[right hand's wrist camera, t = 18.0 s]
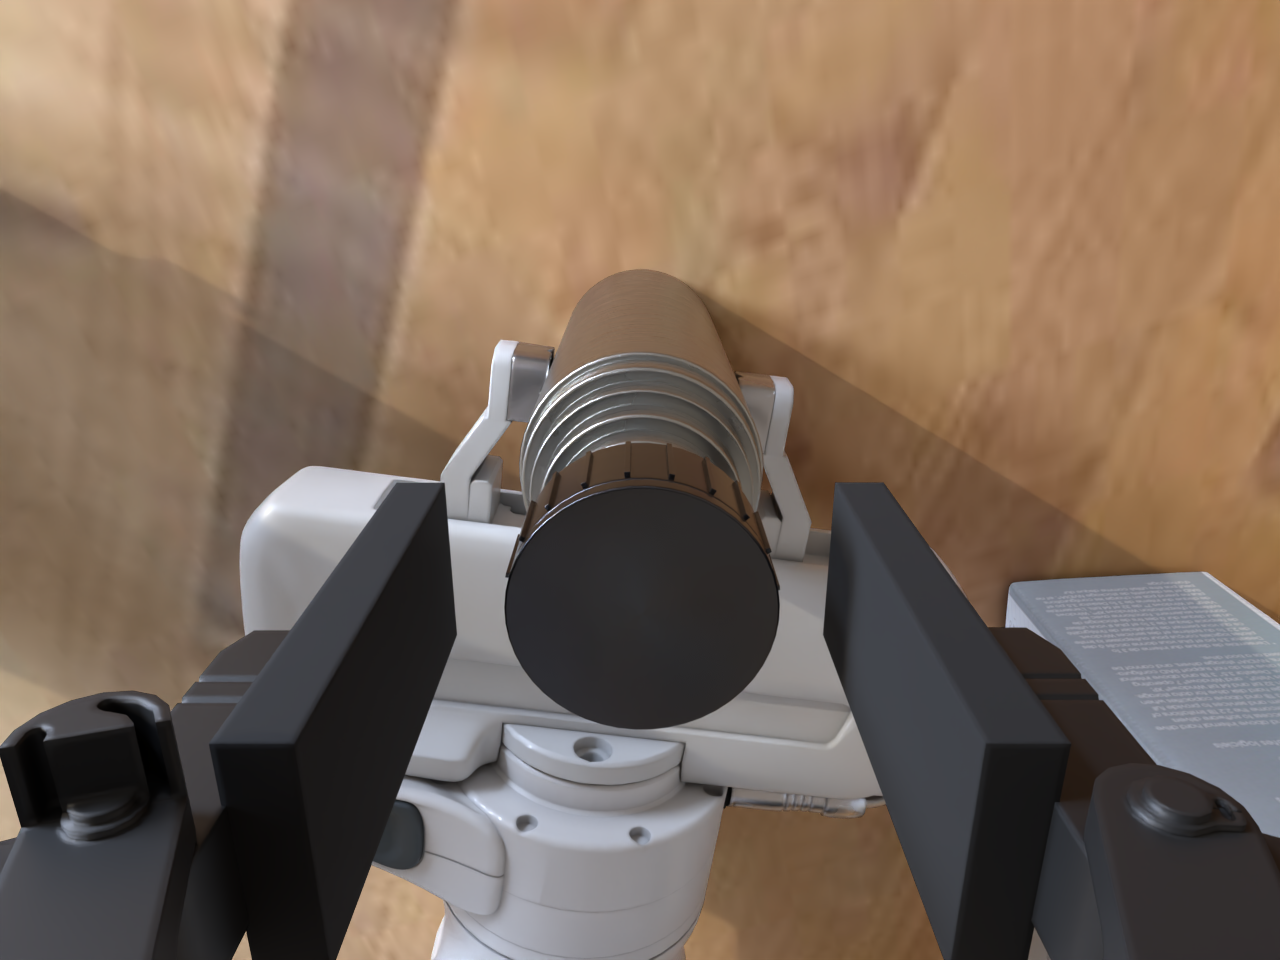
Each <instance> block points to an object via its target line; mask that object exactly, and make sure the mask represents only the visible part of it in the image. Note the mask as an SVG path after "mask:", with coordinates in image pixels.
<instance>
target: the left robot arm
mask: <svg viewBox="0 0 1280 960" xmlns="http://www.w3.org/2000/svg"><path fill="white" fill-rule="evenodd" d="M554 350H555V349H554V347H549V346H543V345H536V344H529V343H523V342H518V341H509V340H500V342H499V343H498V345H497V346H496V347H495V351H494V356H493V361H492V366H491V379H490V391H489V404H488V407H487V408H486V409H485V411H484V412H483V414H482V415H481V416H480V418H479V419H478V420H477V422H476V423H475V425H474V426H473V427H472V429H471V430H470V431H469V433H468V434H467V435H466V437H465V438H464V440H463V441H462V442H461V444H460V445H459V446H458V448H457V449H456V450H455V452H454V454H453V455H452V457H451V459H450V460H449V462H448V464H447V465H446V467H445V469H444V470H443V472H442V474H441V478H440V481H433V480H425V479H418V478H410V477H402V476H394V475H386V474H378V473H370V472H362V471H354V470H346V469H338V468H331V467H323V466H308V467H305V468H303V469H301V470H299V471H298V472H296V473H295V474H294V475H293V476H291V477H290V478H289V479H288V480H286V481H285V482H284V483H283V484H281V485H280V486H279V487H278V488H276V489H275V490H274V491H273V492H272V493H271V494H270V495H269V496H268V497H267V498H266V499H265V500H264V501H263V502H262V503H261V504H260V505H259V507H258V508H257V509H256V510H255V511H254V512H253V514H252V515H251V516H250V518H249V519H248V521H247V523H246V525H245V527H244V529H243V532H242V536H241V541H240V587H241V601H242V612H243V622H244V630H245V636H246V635H248V634H249V633H251V632H252V631H254V630H291V629H292V627H293V626H294V624H295V623H296V622H297V620H298V619H299V617H300V616H301V615H302V613H303V612H304V610H305V609H306V608H307V606H308V605H309V604H310V602H311V601H312V599H313V598H314V597H315V595H316V594H317V592H318V591H319V590H320V588H321V587H322V585H323V584H324V583H325V581H326V580H327V579H328V577H329V576H330V574H331V573H332V572H333V570H334V569H335V567H336V566H337V565H338V563H339V562H340V560H341V559H342V558H343V556H344V555H345V554H346V552H347V551H348V549H349V548H350V547H351V545H352V544H353V542H354V541H355V540H356V538H357V537H358V535H359V534H360V533H361V531H362V530H363V528H364V527H365V526H366V524H367V523H368V522H369V520H370V519H371V517H372V516H373V515H374V513H375V512H376V510H377V509H378V508H379V506H380V505H381V503H382V502H383V501H384V499H385V498H386V497H387V495H388V494H389V492H390V491H391V490H392V488H393V487H394V485H395V484H396V483H445V492H446V504H447V516H448V529H449V541H450V553H451V566H452V578H453V590H454V603H455V615H456V627H457V636H456V639H455V642H454V644H453V647H452V650H451V653H450V655H449V658H448V661H447V663H446V666H445V669H444V671H443V674H442V677H441V679H440V682H439V685H438V687H437V690H436V693H435V695H434V698H433V701H432V704H431V706H430V709H429V712H428V714H427V717H426V720H425V722H424V725H423V728H422V730H421V733H420V736H419V738H418V741H417V744H416V746H415V749H414V752H413V754H412V757H411V760H410V763H409V765H408V768H407V771H406V773H405V776H404V779H403V781H402V784H401V787H400V789H399V792H398V795H397V797H396V800H395V803H394V805H393V808H392V811H391V814H390V816H389V819H388V822H387V824H386V827H385V830H384V832H383V835H382V838H381V840H380V843H379V846H378V848H377V851H376V854H375V856H374V859H373V862H372V864H371V865H373V866H375V867H377V868H380V869H382V870H385V871H387V872H389V873H391V874H394V875H396V876H398V877H400V878H403V879H405V880H407V881H409V882H411V883H413V884H415V885H417V886H419V887H421V888H423V889H425V890H427V891H428V892H430V893H432V894H434V895H436V896H437V897H439V898H441V899H443V901H444V907H445V916H444V918H443V920H442V922H441V924H440V927H439V929H438V932H437V935H436V939H435V943H434V947H433V951H432V956H431V960H686V957H685V951H684V944H685V943H686V942H687V940H688V939H689V937H690V935H691V934H692V932H693V930H694V928H695V926H696V924H697V921H698V919H699V916H700V913H701V910H702V907H703V904H704V900H705V894H706V889H707V884H708V880H709V875H710V870H711V865H712V860H713V855H714V851H715V846H716V841H717V837H718V833H719V828H720V823H721V817H722V812H723V809H725V807H726V806H728V807H738V808H747V809H757V810H766V811H782V810H783V811H803V812H807V811H808V812H813V813H820V814H821V815H822V816H826V817H830V818H839V819H852V818H860V817H862V816H863V815H864V813H865V810H866V808H875V807H879V806H883V805H886V803H885V800H884V797H883V795H882V792H881V789H880V787H879V784H878V781H877V779H876V776H875V773H874V771H873V768H872V765H871V763H870V760H869V757H868V755H867V752H866V749H865V746H864V744H863V741H862V738H861V736H860V733H859V730H858V728H857V725H856V722H855V720H854V717H853V714H852V712H851V709H850V706H849V704H848V701H847V698H846V696H845V693H844V690H843V687H842V685H841V682H840V679H839V677H838V674H837V671H836V669H835V666H834V663H833V661H832V658H831V655H830V653H829V650H828V647H827V645H826V642H825V639H824V636H823V627H824V615H825V602H826V590H827V578H828V565H829V553H830V541H831V530H824V529H816V528H810V526H811V519H810V517H809V514H808V511H807V508H806V506H805V503H804V500H803V498H802V495H801V492H800V489H799V487H798V484H797V481H796V478H795V476H794V473H793V470H792V468H791V465H790V462H789V459H788V457H787V455H786V452H785V450H784V448H785V443H786V438H787V433H788V428H789V423H790V418H791V413H792V408H793V401H794V389H793V386H792V384H791V383H790V381H789V380H788V378H787V377H779V376H771V375H764V374H756V373H747V372H739V371H735V372H734V375H735V377H736V379H737V382H738V384H739V387H740V389H741V391H742V394H743V396H744V399H745V401H746V404H747V406H748V408H749V411H750V413H751V416H752V418H753V421H754V423H755V426H756V429H757V431H758V434H759V438H760V442H761V447H762V453H763V467H764V469H765V472H766V475H767V477H768V480H769V482H770V485H771V488H772V494H770V493H769V491H767V490H761V494H760V499H759V503H758V508H757V510H756V511H758V512H759V514H760V517H761V520H762V523H763V526H764V529H765V532H766V535H767V539H768V542H769V545H770V548H771V551H772V552H771V553H770V556H771V560H772V563H773V566H774V569H775V572H776V575H777V578H778V582H779V585H780V590H779V600H780V613H779V624H778V629H777V634H776V638H775V640H774V643H773V646H772V649H771V651H770V653H769V655H768V657H767V659H766V661H765V663H764V665H763V667H762V668H761V669H760V671H759V672H758V674H757V675H756V676H755V678H754V679H753V680H752V681H751V682H750V684H749V685H748V686H747V687H746V688H745V689H744V690H743V691H742V692H741V693H740V694H738V695H737V696H736V697H735V698H734V699H733V700H731V701H730V702H729V703H727V704H726V705H724V706H722V707H721V708H719V709H718V710H716V711H714V712H712V713H710V714H708V715H706V716H704V717H702V718H700V719H697V720H694V721H691V722H689V723H686V724H682V725H677V726H673V727H669V728H661V729H652V730H633V729H623V728H616V727H611V726H606V725H602V724H599V723H596V722H593V721H590V720H587V719H584V718H582V717H580V716H578V715H576V714H573V713H571V712H569V711H568V710H566V709H565V708H563V707H561V706H560V705H558V704H557V703H555V702H554V701H553V700H552V699H550V698H549V697H548V696H547V695H545V694H544V693H543V692H542V691H541V690H540V689H539V688H538V687H537V686H536V685H535V684H534V683H533V682H532V680H531V679H530V678H529V676H528V675H527V674H526V672H525V671H524V670H523V668H522V666H521V665H520V663H519V661H518V659H517V657H516V656H515V654H514V651H513V648H512V646H511V643H510V641H509V637H508V633H507V628H506V624H505V612H504V603H505V591H506V586H507V582H508V578H506V577H505V575H506V571H507V568H508V565H509V561H510V558H511V555H512V552H513V549H514V545H515V542H516V539H517V536H518V534H520V532H521V529H522V526H523V522H524V519H525V516H526V513H527V511H526V508H525V505H524V500H523V494H522V492H521V491H513V490H505V489H501V481H502V466H503V460H502V459H501V458H500V457H499V456H492V455H488V454H489V452H490V451H491V449H492V448H493V447H494V445H495V444H496V443H497V441H498V440H499V439H500V437H501V436H502V435H503V433H504V432H505V430H506V429H507V428H508V426H509V425H510V424H511V422H512V421H520V422H529V420H530V418H531V415H532V413H533V410H534V408H535V405H536V403H537V400H538V398H539V395H540V393H541V390H542V388H543V385H544V383H545V380H546V378H547V375H548V373H549V370H550V368H551V365H552V363H553V360H554ZM929 547H930V546H929ZM930 548H931V547H930ZM931 549H932V548H931ZM932 551H933V552H934V554H935V555H936V556H937V558H938V559H939V560H940V562H941V563H942V565H943V566H944V567H945V569H946V570H947V572H948V573H949V574H950V576H951V577H952V579H953V580H954V581H955V583H956V584H957V586H958V587H959V588H960V590H961V591H962V592H963V594H964V595H965V597H966V598H967V596H966V594H965V592H964V591H963V589H962V587H961V585H960V584H959V582H958V580H957V579H956V577H955V576H954V574H953V573H952V572H951V570H950V569H949V568H948V567H947V565H946V564H945V563H944V562H943V561H942V559H941V558H940V557H939V556H938V554H937V553H936V552H935V551H934V550H933V549H932ZM967 599H968V598H967ZM968 601H969V600H968Z"/></svg>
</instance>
